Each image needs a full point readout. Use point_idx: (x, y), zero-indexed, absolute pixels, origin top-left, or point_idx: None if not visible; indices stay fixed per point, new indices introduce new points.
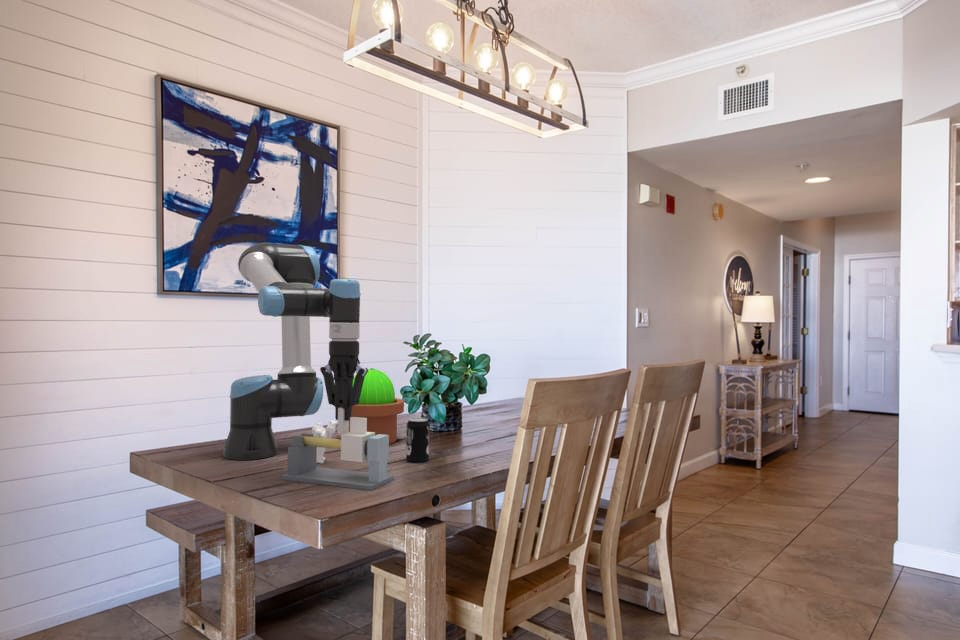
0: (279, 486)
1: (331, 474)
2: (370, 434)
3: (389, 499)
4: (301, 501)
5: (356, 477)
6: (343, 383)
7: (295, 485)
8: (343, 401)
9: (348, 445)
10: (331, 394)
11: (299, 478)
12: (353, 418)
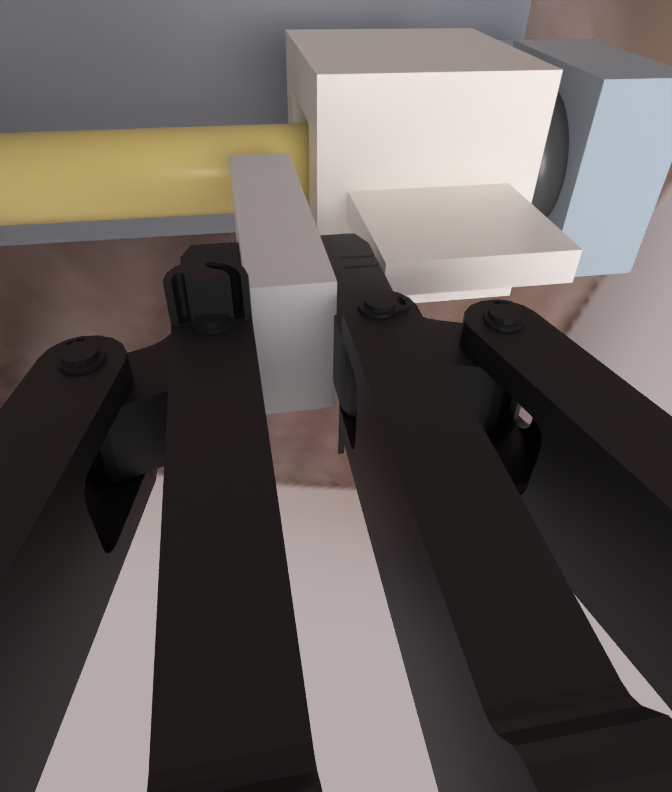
0: (41, 337)
1: (145, 94)
2: (538, 163)
3: (590, 281)
4: (293, 428)
5: None
6: (431, 762)
7: (91, 293)
8: (352, 464)
9: None
10: (115, 571)
11: (41, 241)
12: (426, 289)
